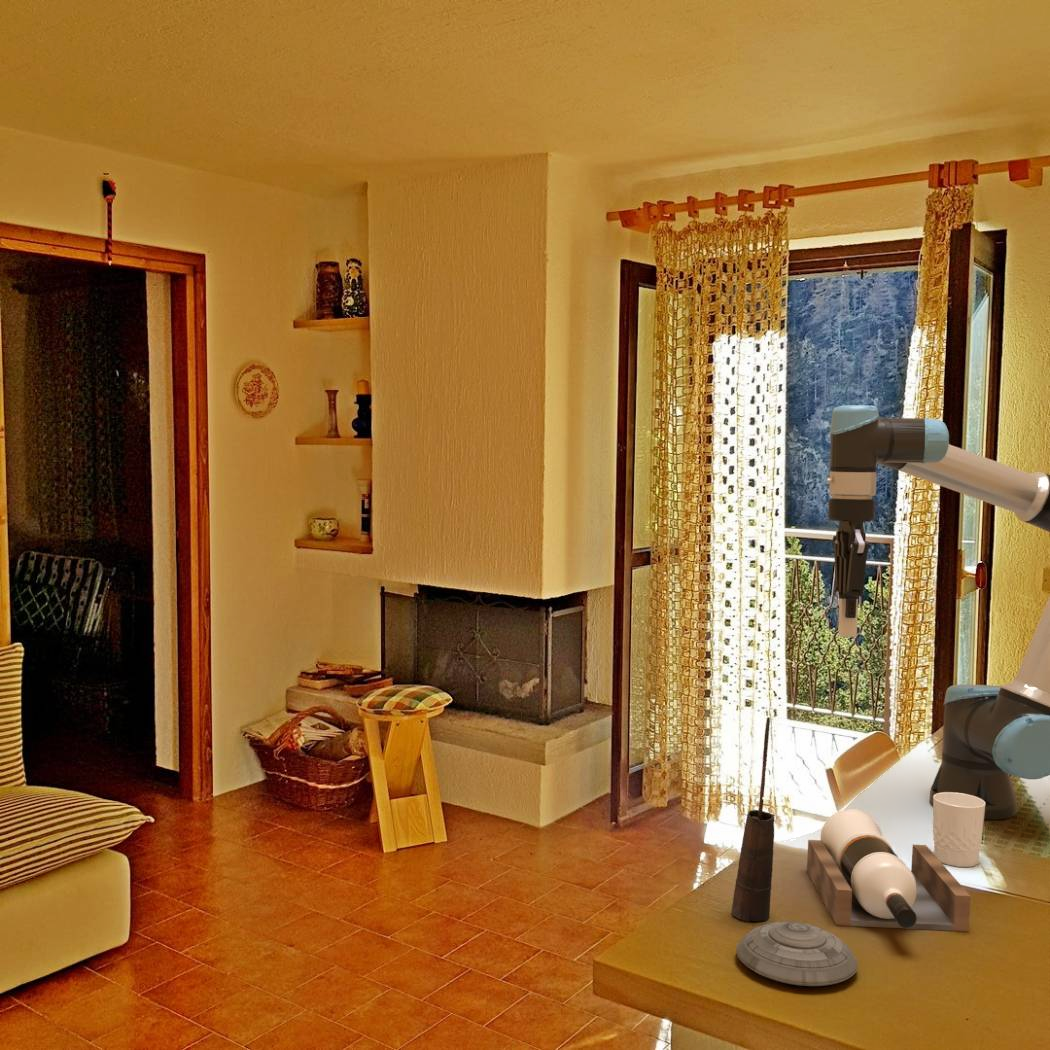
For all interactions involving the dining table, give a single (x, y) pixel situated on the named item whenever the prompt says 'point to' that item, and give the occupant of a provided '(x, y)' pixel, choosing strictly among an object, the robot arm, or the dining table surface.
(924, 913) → the u rest
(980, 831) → the white cup
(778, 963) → the flying saucer
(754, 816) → the butter churn
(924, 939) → the dining table surface
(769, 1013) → the dining table surface
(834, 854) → the vodka
